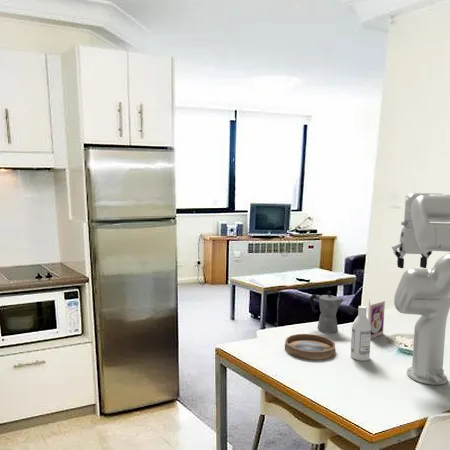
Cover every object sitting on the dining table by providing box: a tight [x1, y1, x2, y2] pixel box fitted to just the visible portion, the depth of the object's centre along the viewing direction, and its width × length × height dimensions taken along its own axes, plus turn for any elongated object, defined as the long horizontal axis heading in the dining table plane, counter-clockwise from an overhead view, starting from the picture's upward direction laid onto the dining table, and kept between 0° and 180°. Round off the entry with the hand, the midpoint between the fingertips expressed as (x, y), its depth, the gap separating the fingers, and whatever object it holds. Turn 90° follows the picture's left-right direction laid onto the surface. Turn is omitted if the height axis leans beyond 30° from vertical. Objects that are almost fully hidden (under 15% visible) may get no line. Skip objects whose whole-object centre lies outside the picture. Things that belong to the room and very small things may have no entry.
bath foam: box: [350, 305, 372, 362], centre depth 161 cm, size 7×7×20 cm
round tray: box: [284, 333, 337, 361], centre depth 169 cm, size 20×20×3 cm
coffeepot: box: [309, 290, 345, 334], centre depth 192 cm, size 15×9×18 cm, turn 67°
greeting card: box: [367, 299, 386, 339], centre depth 187 cm, size 11×7×15 cm, turn 129°
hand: (411, 267), depth 167 cm, fingers open, 9 cm apart
